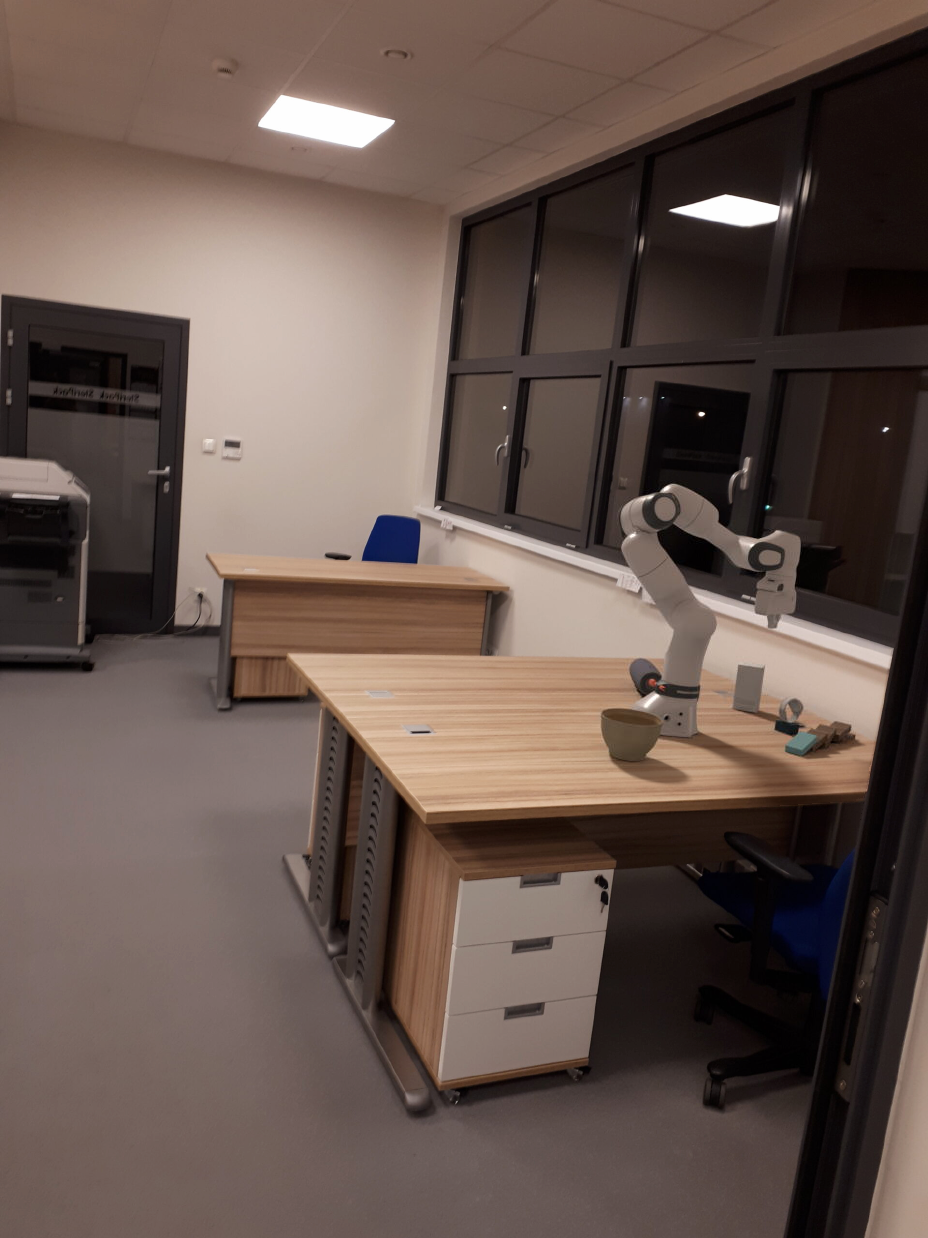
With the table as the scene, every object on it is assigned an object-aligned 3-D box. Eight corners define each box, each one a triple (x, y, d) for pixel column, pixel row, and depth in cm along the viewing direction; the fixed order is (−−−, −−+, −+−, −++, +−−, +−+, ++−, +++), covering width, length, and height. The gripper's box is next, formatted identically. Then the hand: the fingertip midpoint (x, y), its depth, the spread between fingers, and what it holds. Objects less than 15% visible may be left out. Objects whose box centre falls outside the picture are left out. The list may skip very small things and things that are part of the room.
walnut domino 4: (843, 739, 286) (855, 734, 294) (826, 734, 290) (839, 730, 297) (841, 745, 287) (854, 740, 294) (825, 740, 290) (838, 736, 297)
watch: (802, 733, 293) (808, 699, 291) (785, 735, 289) (791, 700, 287) (787, 728, 298) (793, 694, 296) (770, 730, 293) (776, 695, 291)
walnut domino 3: (839, 735, 284) (851, 725, 291) (822, 730, 287) (835, 720, 295) (838, 741, 285) (850, 731, 292) (822, 737, 288) (834, 726, 295)
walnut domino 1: (813, 746, 272) (828, 732, 278) (796, 741, 275) (811, 728, 282) (812, 752, 273) (827, 738, 279) (796, 747, 276) (811, 734, 282)
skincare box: (759, 710, 318) (766, 665, 316) (756, 714, 312) (764, 668, 310) (733, 705, 322) (741, 660, 319) (730, 708, 316) (738, 663, 313)
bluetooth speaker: (663, 701, 316) (668, 672, 314) (635, 698, 316) (640, 669, 314) (651, 685, 338) (655, 658, 337) (625, 682, 338) (629, 655, 337)
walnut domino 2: (825, 742, 277) (836, 727, 284) (808, 738, 280) (819, 723, 287) (825, 748, 278) (836, 733, 285) (808, 744, 281) (819, 729, 288)
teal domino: (802, 750, 267) (817, 735, 273) (785, 745, 270) (800, 731, 277) (801, 756, 268) (817, 741, 274) (784, 751, 271) (800, 737, 277)
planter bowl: (614, 742, 260) (620, 704, 258) (668, 759, 250) (674, 719, 248) (583, 752, 247) (589, 712, 246) (638, 770, 238) (644, 729, 236)
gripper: (785, 581, 299) (778, 624, 301) (754, 582, 284) (746, 627, 287) (804, 585, 295) (796, 628, 297) (773, 586, 280) (766, 632, 282)
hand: (772, 628), depth 292 cm, fingers closed
